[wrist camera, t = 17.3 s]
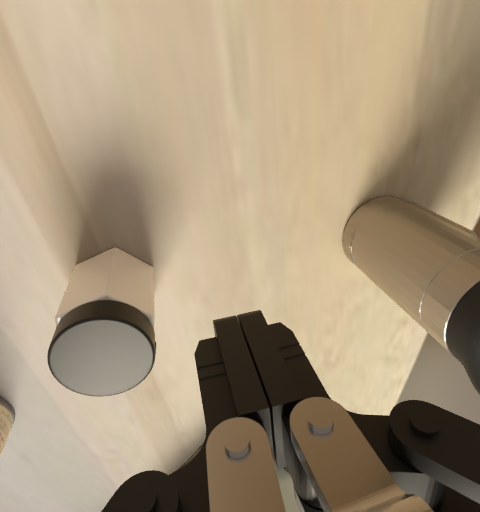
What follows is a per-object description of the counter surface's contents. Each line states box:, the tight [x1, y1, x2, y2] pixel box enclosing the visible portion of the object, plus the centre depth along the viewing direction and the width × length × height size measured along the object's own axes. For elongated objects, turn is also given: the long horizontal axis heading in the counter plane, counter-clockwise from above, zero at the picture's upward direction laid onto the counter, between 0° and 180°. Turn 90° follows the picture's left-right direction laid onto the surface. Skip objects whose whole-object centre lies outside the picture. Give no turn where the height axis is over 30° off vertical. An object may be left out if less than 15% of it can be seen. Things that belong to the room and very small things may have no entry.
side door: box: [274, 462, 300, 512], centre depth 53 cm, size 20×1×10 cm, turn 35°
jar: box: [48, 247, 156, 396], centre depth 34 cm, size 9×8×12 cm
